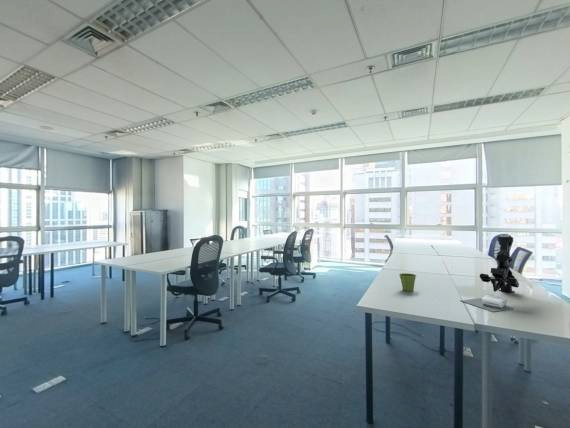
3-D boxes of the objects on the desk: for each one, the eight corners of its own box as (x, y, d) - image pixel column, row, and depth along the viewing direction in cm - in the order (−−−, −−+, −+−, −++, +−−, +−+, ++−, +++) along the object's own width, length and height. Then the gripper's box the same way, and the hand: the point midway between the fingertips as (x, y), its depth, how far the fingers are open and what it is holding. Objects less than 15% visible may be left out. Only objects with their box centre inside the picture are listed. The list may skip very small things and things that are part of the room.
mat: (479, 298, 169) (479, 298, 169) (513, 308, 150) (513, 308, 150) (460, 301, 165) (460, 300, 165) (493, 312, 146) (493, 311, 146)
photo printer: (486, 300, 164) (480, 304, 156) (486, 293, 164) (480, 297, 156) (507, 304, 156) (502, 309, 148) (507, 297, 156) (502, 302, 148)
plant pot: (414, 288, 196) (414, 273, 196) (418, 292, 184) (418, 276, 184) (397, 287, 199) (397, 272, 199) (400, 292, 187) (400, 276, 187)
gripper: (480, 260, 171) (472, 280, 165) (516, 265, 155) (509, 286, 149) (486, 271, 175) (478, 290, 169) (522, 276, 158) (515, 298, 153)
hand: (494, 291), depth 160 cm, fingers closed
